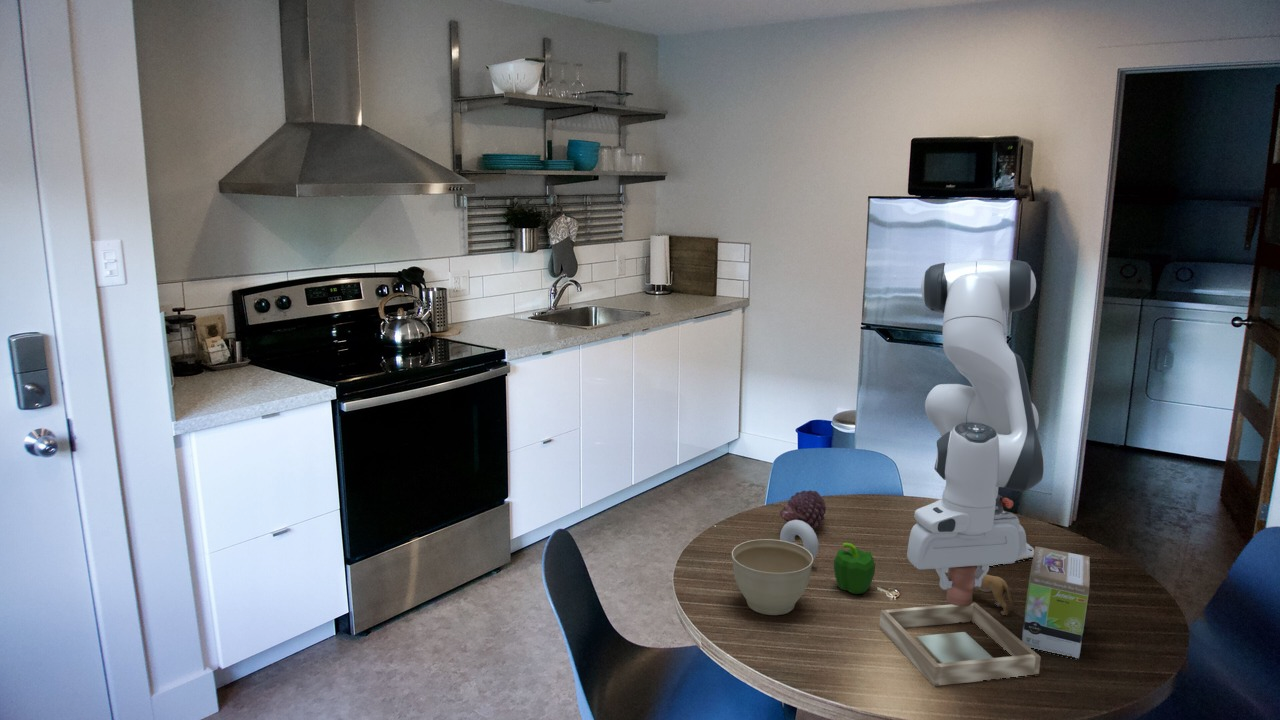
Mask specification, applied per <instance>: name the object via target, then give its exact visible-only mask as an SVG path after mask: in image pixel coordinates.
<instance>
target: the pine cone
mask: <svg viewBox="0 0 1280 720" xmlns="http://www.w3.org/2000/svg"><path fill="white" fill-rule="evenodd" d="M826 510H827V506H826V501H825V500H824V498H822V496H821V494H820V493H819V492H818V491H816V490H811V489H810V490H802V491H801V492H795V494H794V495H791V497H790V499H788V501H787V504H786V503H785V504H784V505H783V508H782V510H781V511H779V515H780V517H781V518H782V519H783V520H784V521H785V522H786V523H788V522H789V521H792V520H800V521H803V522H805V523H807V524H808V525H809V526H810V527H811V528H812V529H813V530H814V531H815V530H816V528H817V527H820V526H821V525H822V521H824V520H825V515H826V512H827V511H826Z"/></svg>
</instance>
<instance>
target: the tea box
mask: <svg viewBox="0 0 1280 720" xmlns="http://www.w3.org/2000/svg"><path fill="white" fill-rule="evenodd" d="M1031 560H1032V561H1031V567H1030V572H1029V579H1028V583H1027V592H1026V598H1025V599H1026V600H1025V609H1024V616H1023V625H1022V633H1021V635H1022V636H1021V641H1022V642H1024V643H1025V644H1026V645H1027V646H1028V647H1030V648H1034V649H1033V650H1035V649H1038V650H1037V651H1039V650H1043V651H1048V652H1052V653H1057V654H1062V655H1067V656H1072V657H1075V658H1078V659H1080V654H1081V648H1082V643H1083V642H1082V640H1083V634H1084V629H1085V628H1084V627H1085V621H1086V614H1087V608H1088V607H1087V606H1088V602H1089V601H1088V600H1089V594H1090V583H1091V581H1090V579H1091V578H1090V575H1091V574H1090V570H1091V569H1090V567H1091V566H1090V562H1091V561H1090V560H1091V558H1090V556H1088V555H1083V554H1078V553H1077V554H1076V553H1072V552H1067V551H1063V550H1056V549H1051V548H1047V547H1041V546H1035V547H1034V555H1033V559H1031ZM1043 651H1042V652H1043Z"/></svg>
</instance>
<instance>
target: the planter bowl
mask: <svg viewBox="0 0 1280 720" xmlns="http://www.w3.org/2000/svg"><path fill="white" fill-rule="evenodd" d="M731 560H732V568H733V576H734V580H735V582H736V585H737V587H738V589H739V591H740V592H741V594H742V595H743V597H744V598H745V600H746V603H747V606H748V608H750V609H751V611H754V612H756V613H759V614H761V615H767V616H779V615H780V616H781V615H785V614H789V613H791V611H793V610H794V609H795V606H796V603H797V602H798V601H799V600H800V598H801V597H802V596H803V594H804V593H805V591H806V590H807V587H808V585H809V581H810V577H811V574H812V568H813V564H814V559H813V556H812V554H811V553H810V552H809V551H808V550H807V549H805V548H804V547H803V545H802V546H801V545H799V544H797V543H796V544H794V543H791V542H787V541H782V540H780V539H773V538H767V539H766V538H764V539H763V538H760V539H759V538H758V539H753V540H748V541H747V540H746V541H744V542H741V543H740V544H737V545H735V546H734V547H733V549H732V551H731Z"/></svg>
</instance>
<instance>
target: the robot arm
mask: <svg viewBox="0 0 1280 720" xmlns="http://www.w3.org/2000/svg"><path fill="white" fill-rule="evenodd" d="M1036 281H1037V280H1036V277H1035V273H1034V271H1033V270H1032V266H1030V265H1029V263H1028V262H1027V261H1022V260H1017V259H1016V260H1015V259H1011V260H1002V259H1001V260H999V259H977V260H969V261H968V260H967V261H958V262H951V263H945V262H941V263H935V264H933V265H930V266H929V267H928V268H927V269H926V270H925V272H924V276H923V277H922V281H921V286H920V293H921V297H922V300H923V301H924V305H925V307H926V308H928V309H929V310H930V311H932V312H936V313H941V314H943V319H942V347H943V352H944V355H945V356H946V357H947V359H948V360H949V361H950V362H951V363H952V364H953V366H954V367H955V368H956V370H957V372H958V373H960V374H961V375H962V376H963V377H964V378H965V379H967V380H968V381H969V383H970V384H971V386H969V385H965V384H961V383H941V384H937V385H935V386H934V387H933V388H932V389H931V390H930V391H929V392H928V394H927V396H926V399H925V402H924V410H925V415H926V417H927V419H928V420H929V422H931V423H932V425H933V426H934V427H935V429H936V430H938V433H939V434H940V437H939V438H938V439H937V440H936V448H937V453H936V460H935V463H934V466H933V467H934V471H935V472H936V473H937V474H938V475H939V476H940V477H941V478H942V480H944V481H945V486H944V489H943V492H942V495H941V496H942V498H940V499H938V500H936V501H935V502H932V503H929V504H927V505H924V506H922V507H919V508H917V509H916V510H915V511H914V516H913V517H914V519H915V521H916V523H915V524H914V525H913V526H912V528H911V530H910V533H909V537H908V543H907V552H906V556H907V559H908V561H909V563H911V564H912V565H913V566H914V567H915V569H917V570H922V571H923V570H932V569H933V570H935V571H936V573H937V575H938V577H939V588H941V589H942V590H943V591H945V590H946V591H947V589H952V586H951V585H952V583H953V581H952V580H951V579H949V578H948V576H947V574H949V570H948V569H949V568H951V567H966V566H978V567H977V569H976V570H975V578H974V588H975V587H981V583H982V579H983V577H984V576H985V575H986V574H988V572H989V570H990V567H989V566H993V565H998V564H1003V565H1008V564H1010V565H1011V564H1015V563H1016V562H1015V561H1016V560H1020V559H1023V558H1028V557H1033V555H1034V550H1035V548H1034V547H1033V546H1031V544H1029V543H1027V536H1026V530H1025V528H1024V527H1023V526H1022V525H1021V523H1020V519H1019V517H1018V516H1017V515H1015V514H1014V513H1013V512H1011V511H1010V512H1009V511H1008V512H1007V511H1005V509H1004V507H1005V508H1007V509H1012V507H1014V501H1013V500H1012V499H1011V498H1010V499H1009V498H1008V497H1003V496H1002V495H1000V494H999V488H1003V489H1008V490H1012V491H1016V492H1021V493H1022V492H1023V493H1024V492H1026V491H1029V490H1030V489H1032V488H1034V487H1035V486H1036V485H1038V484H1039V483H1040V482H1041V481H1042V480H1043V476H1044V474H1045V473H1044V472H1045V468H1046V467H1045V466H1046V465H1045V463H1046V462H1045V457H1044V453H1043V450H1042V446H1041V443H1040V442H1041V441H1040V438H1039V435H1038V431H1037V430H1038V427H1039V423H1040V417H1039V412H1038V410H1037V408H1036V405H1035V404H1034V403H1033V402H1032V398H1031V393H1030V389H1029V388H1030V387H1029V382H1028V378H1027V374H1026V369H1025V365H1024V362H1023V361H1022V358H1021V356H1020V355H1019V354H1017V353H1016V352H1014V351H1012V349H1011V348H1010V346H1009V345H1008V343H1007V341H1008V340H1007V339H1008V338H1007V332H1008V331H1007V330H1008V329H1007V315H1006V314H1007V313H1006V312H1007V311H1009V312H1010V313H1014V312H1017V311H1022V310H1024V309H1025V308H1027V307H1028V306H1029V305H1031V302H1032V300H1033V298H1034V296H1035V294H1036V288H1037V282H1036ZM1030 550H1032V551H1030ZM998 566H999V565H998ZM993 567H994V566H993Z"/></svg>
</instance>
